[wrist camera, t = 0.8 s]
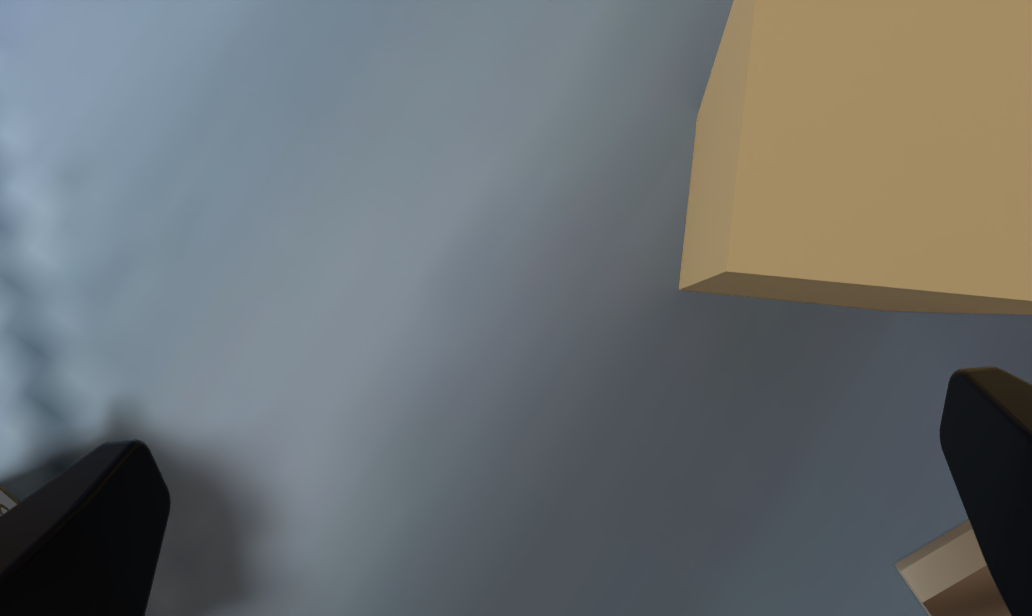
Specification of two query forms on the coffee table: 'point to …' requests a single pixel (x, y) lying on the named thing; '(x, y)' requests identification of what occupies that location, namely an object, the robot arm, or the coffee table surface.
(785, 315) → the coffee table surface
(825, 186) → the pillar
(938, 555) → the brown open-ended tray
